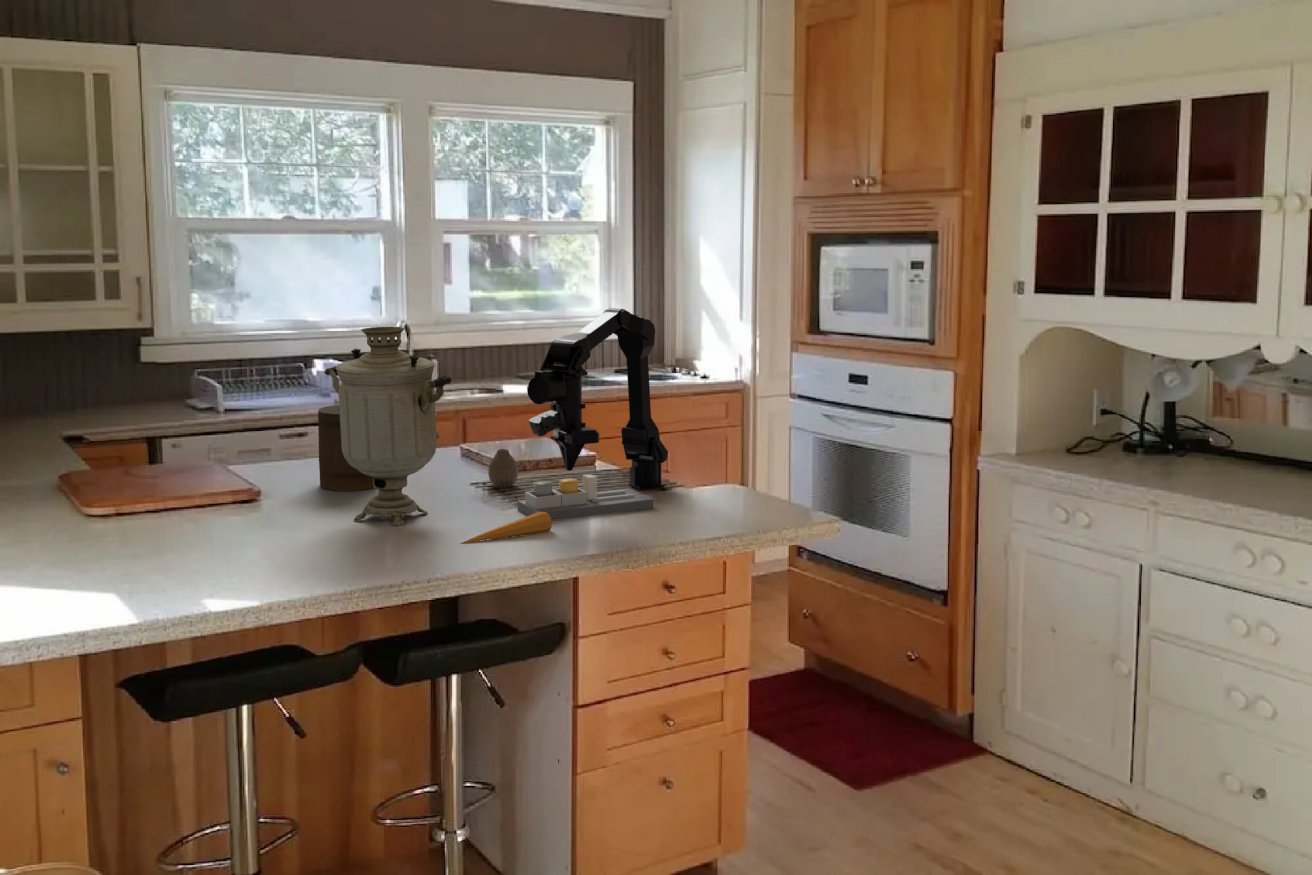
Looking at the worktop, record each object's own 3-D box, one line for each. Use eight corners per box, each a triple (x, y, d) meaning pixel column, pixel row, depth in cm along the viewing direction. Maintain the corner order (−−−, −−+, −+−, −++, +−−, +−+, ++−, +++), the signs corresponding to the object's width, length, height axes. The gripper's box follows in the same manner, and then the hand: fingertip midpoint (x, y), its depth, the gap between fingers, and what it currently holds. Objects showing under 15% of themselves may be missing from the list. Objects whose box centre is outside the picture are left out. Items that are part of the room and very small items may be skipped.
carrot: (548, 532, 256) (543, 511, 256) (557, 529, 252) (551, 507, 252) (458, 556, 246) (452, 534, 246) (466, 553, 242) (460, 530, 242)
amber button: (573, 491, 272) (573, 477, 272) (581, 495, 269) (581, 481, 268) (556, 493, 271) (556, 479, 270) (564, 497, 267) (563, 483, 267)
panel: (629, 496, 284) (629, 477, 283) (653, 508, 273) (653, 487, 272) (517, 509, 271) (517, 489, 271) (538, 521, 261) (538, 500, 260)
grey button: (548, 494, 270) (547, 480, 269) (555, 497, 266) (555, 484, 266) (530, 496, 268) (530, 482, 267) (537, 499, 264) (537, 486, 264)
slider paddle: (591, 496, 274) (590, 474, 273) (596, 499, 271) (596, 476, 271) (582, 497, 273) (582, 475, 272) (588, 500, 271) (588, 477, 270)
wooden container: (397, 482, 298) (394, 391, 294) (351, 494, 285) (347, 399, 281) (353, 475, 305) (349, 386, 301) (306, 486, 293) (301, 393, 289)
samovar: (496, 516, 265) (492, 328, 258) (393, 540, 247) (385, 337, 239) (412, 494, 285) (406, 318, 278) (310, 514, 267) (301, 326, 259)
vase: (521, 483, 297) (520, 447, 295) (514, 490, 290) (514, 452, 289) (492, 482, 298) (491, 446, 296) (485, 489, 291) (484, 452, 289)
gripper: (516, 395, 270) (517, 465, 273) (550, 407, 254) (551, 482, 257) (564, 391, 276) (564, 461, 278) (600, 403, 259) (600, 477, 262)
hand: (569, 470), depth 269 cm, fingers closed
